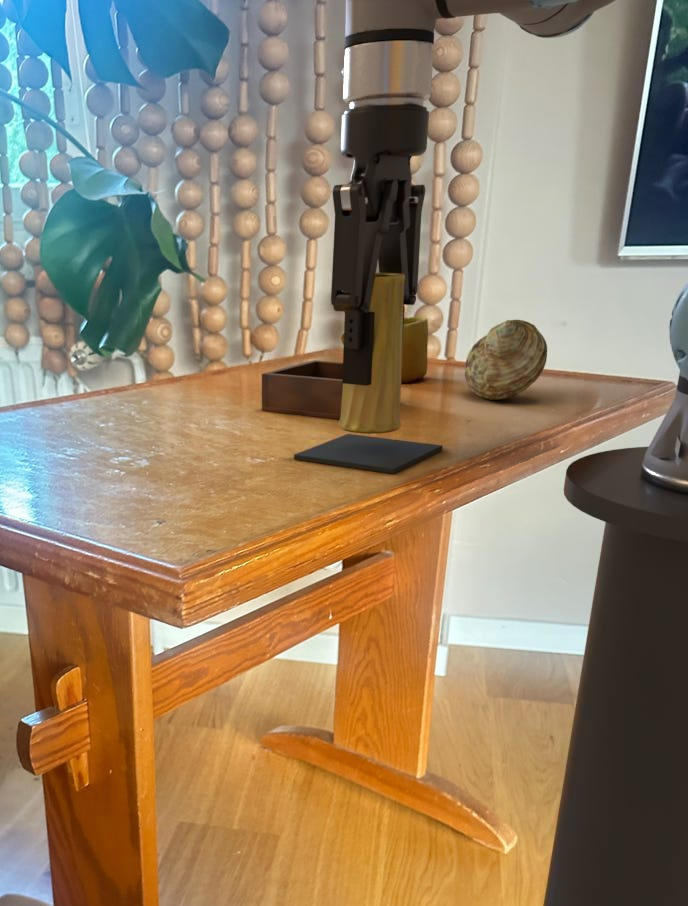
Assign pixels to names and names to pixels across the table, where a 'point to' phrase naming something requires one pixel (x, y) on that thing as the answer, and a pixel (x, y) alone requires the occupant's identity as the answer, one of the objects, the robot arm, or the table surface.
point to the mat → (369, 453)
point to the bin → (305, 389)
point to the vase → (379, 365)
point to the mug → (413, 348)
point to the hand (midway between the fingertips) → (372, 378)
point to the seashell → (506, 360)
